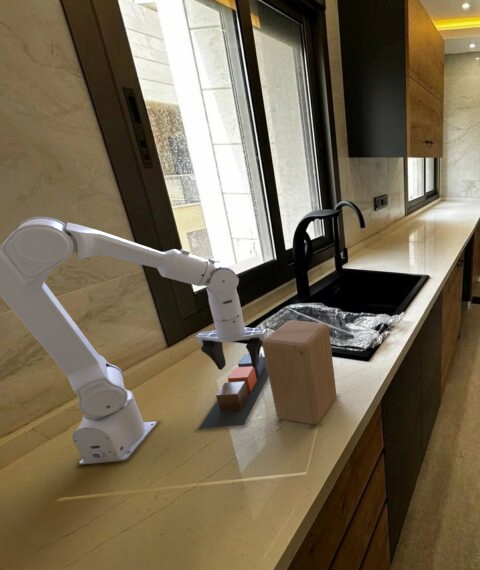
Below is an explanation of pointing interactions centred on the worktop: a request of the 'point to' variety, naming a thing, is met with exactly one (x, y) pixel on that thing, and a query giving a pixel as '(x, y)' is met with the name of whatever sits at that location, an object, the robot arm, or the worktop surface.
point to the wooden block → (300, 370)
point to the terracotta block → (244, 376)
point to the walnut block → (232, 396)
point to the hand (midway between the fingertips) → (239, 366)
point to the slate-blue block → (247, 363)
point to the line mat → (236, 416)
